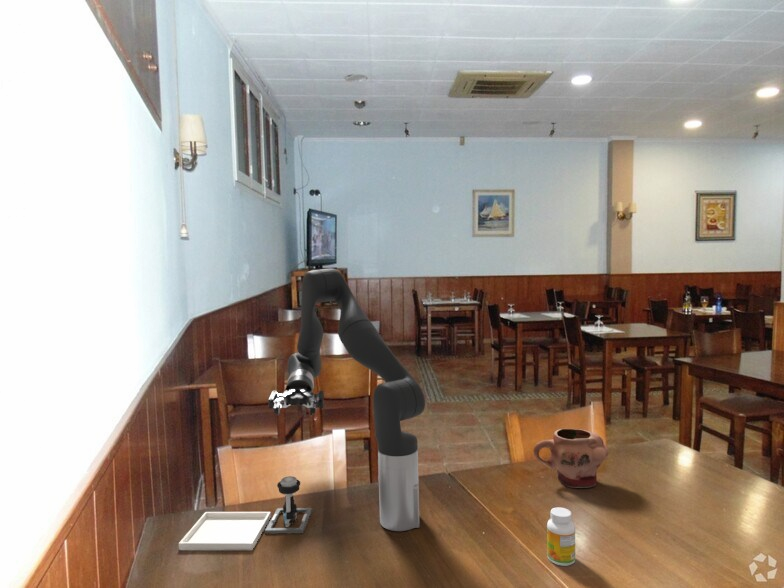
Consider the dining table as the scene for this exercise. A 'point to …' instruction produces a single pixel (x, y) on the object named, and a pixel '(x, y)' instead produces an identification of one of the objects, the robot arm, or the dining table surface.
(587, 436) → the sculpted ceramic mug
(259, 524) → the tray
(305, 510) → the grey flat frame
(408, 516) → the robot arm
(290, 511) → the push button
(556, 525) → the supplement bottle
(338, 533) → the dining table surface
